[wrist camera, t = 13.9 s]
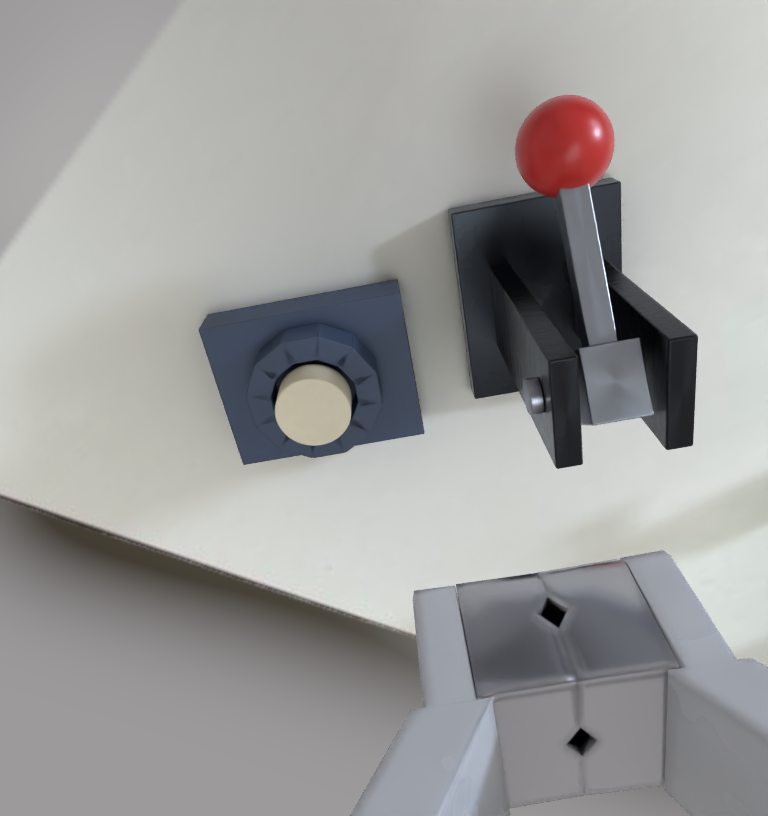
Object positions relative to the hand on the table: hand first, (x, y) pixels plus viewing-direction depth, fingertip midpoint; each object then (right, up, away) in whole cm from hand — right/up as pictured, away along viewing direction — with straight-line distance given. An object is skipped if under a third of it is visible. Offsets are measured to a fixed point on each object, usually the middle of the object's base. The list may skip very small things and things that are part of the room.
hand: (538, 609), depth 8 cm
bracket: (+6, +8, +26) cm, 28 cm away
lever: (+6, +8, +19) cm, 21 cm away
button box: (-5, +5, +28) cm, 29 cm away
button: (-5, +3, +25) cm, 26 cm away
